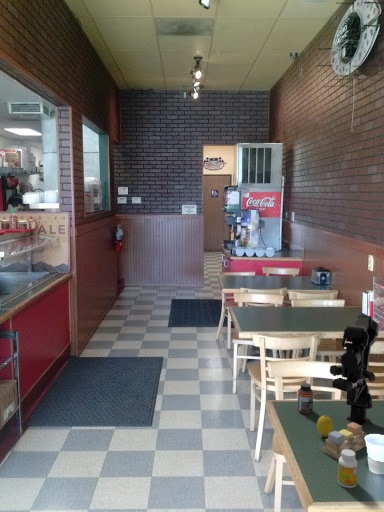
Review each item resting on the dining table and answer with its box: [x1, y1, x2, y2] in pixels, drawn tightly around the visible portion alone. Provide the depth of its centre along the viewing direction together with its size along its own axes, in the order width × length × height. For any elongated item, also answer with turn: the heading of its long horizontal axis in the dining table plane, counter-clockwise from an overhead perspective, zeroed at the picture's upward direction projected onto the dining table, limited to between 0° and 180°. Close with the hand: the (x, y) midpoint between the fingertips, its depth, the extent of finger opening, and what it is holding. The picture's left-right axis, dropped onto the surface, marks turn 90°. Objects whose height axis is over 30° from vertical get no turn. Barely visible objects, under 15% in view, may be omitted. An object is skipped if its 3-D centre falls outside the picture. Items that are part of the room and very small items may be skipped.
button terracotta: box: [345, 421, 363, 436], centre depth 164 cm, size 4×4×4 cm
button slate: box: [327, 430, 344, 445], centre depth 158 cm, size 4×4×4 cm
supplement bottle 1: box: [297, 382, 314, 415], centre depth 190 cm, size 6×6×11 cm
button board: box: [321, 430, 366, 461], centre depth 161 cm, size 16×7×4 cm, turn 128°
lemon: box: [316, 414, 334, 438], centre depth 169 cm, size 6×6×8 cm
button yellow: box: [338, 428, 353, 440], centre depth 161 cm, size 4×4×4 cm
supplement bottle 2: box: [337, 449, 358, 489], centre depth 141 cm, size 5×5×10 cm
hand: (353, 402), depth 170 cm, fingers closed
